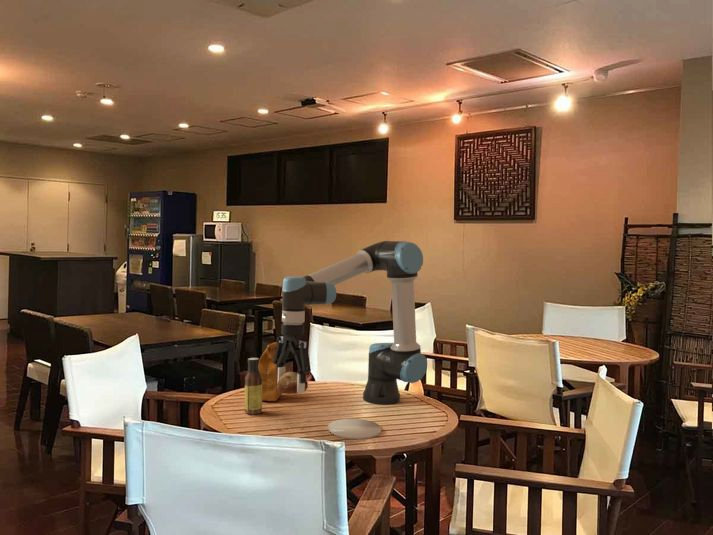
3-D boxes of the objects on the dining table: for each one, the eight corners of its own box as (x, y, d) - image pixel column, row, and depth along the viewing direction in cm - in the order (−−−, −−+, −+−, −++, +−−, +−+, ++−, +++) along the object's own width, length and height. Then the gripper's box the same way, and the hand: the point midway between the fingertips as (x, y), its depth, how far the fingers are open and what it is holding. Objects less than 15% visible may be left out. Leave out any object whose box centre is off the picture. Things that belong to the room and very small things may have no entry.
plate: (355, 419, 215) (355, 415, 215) (392, 432, 202) (392, 428, 202) (317, 428, 203) (317, 425, 203) (353, 443, 190) (353, 439, 190)
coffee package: (286, 396, 243) (288, 342, 242) (276, 404, 231) (278, 347, 230) (263, 393, 245) (264, 340, 244) (252, 401, 233) (253, 345, 232)
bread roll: (282, 396, 206) (273, 375, 205) (310, 384, 206) (300, 363, 206) (281, 404, 196) (271, 382, 195) (310, 391, 196) (300, 369, 196)
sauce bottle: (265, 412, 220) (267, 358, 219) (255, 416, 214) (257, 361, 213) (250, 409, 222) (252, 356, 222) (240, 413, 217) (242, 358, 216)
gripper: (263, 319, 205) (261, 384, 206) (305, 328, 189) (303, 398, 190) (281, 318, 210) (279, 381, 211) (323, 326, 194) (321, 394, 195)
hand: (290, 389), depth 200 cm, fingers closed on bread roll, 10 cm apart
